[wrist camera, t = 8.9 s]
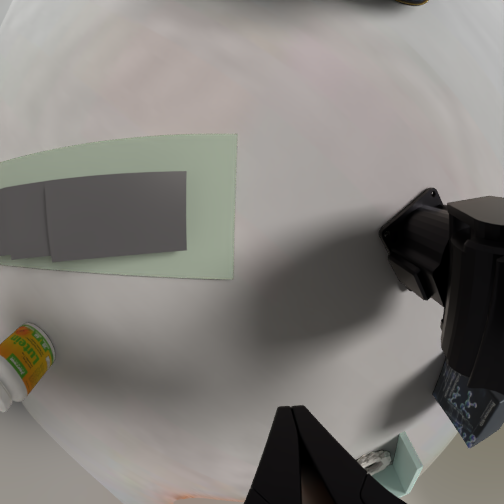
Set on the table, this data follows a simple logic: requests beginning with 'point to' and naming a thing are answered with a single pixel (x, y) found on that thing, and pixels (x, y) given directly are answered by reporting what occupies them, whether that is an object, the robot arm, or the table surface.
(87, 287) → the table surface
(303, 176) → the table surface
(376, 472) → the right angle wall
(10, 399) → the supplement bottle
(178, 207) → the domino
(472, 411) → the box
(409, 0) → the apothecary jar
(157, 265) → the rack
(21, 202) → the domino
